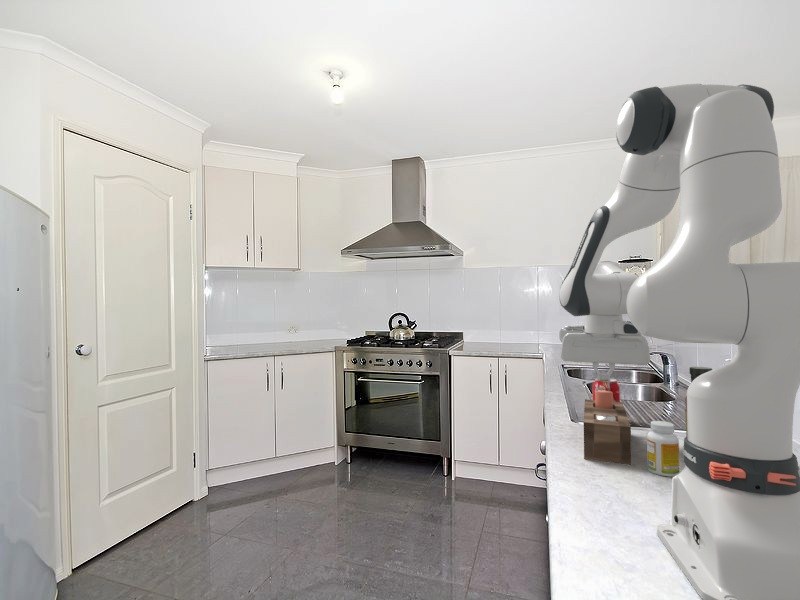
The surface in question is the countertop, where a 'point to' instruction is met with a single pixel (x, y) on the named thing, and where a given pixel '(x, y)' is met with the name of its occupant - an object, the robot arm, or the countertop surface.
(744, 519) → the robot arm
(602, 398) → the pink oval piece
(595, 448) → the plug block
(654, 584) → the countertop surface
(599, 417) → the steel plug
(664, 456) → the supplement bottle
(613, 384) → the soda can
